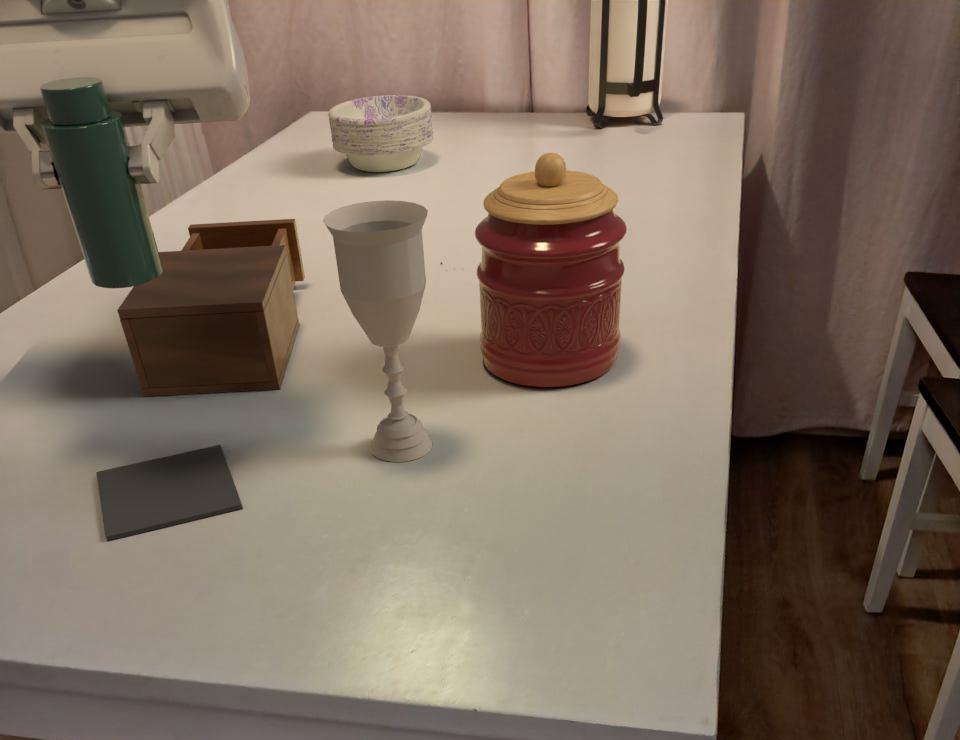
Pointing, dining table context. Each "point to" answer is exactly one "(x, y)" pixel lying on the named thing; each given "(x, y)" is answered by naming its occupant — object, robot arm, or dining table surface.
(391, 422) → the chalice
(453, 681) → the dining table surface
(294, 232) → the drawer
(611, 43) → the lantern
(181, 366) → the brown wooden box
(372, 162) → the paper bowls
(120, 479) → the mat
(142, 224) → the bottle
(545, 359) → the kitchen canister
